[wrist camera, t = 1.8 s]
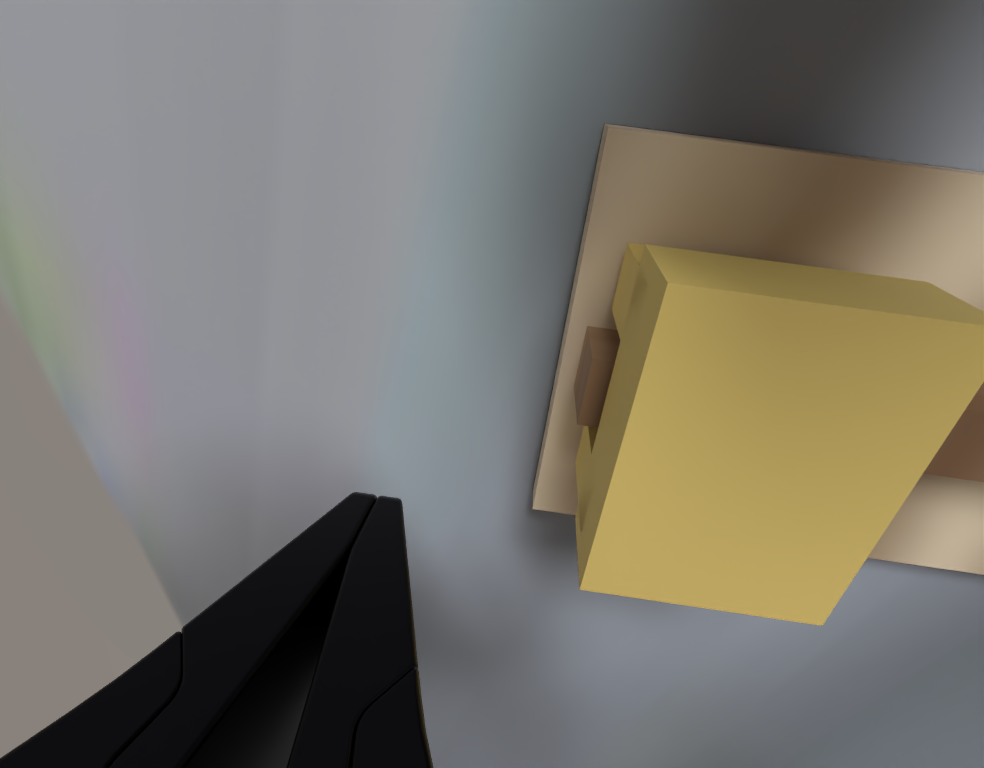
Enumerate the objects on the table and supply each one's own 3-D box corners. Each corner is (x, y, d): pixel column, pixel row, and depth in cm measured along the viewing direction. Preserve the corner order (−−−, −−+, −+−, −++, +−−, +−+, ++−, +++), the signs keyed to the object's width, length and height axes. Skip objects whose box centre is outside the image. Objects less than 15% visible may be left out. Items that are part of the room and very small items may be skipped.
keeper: (877, 255, 13) (1018, 330, 9) (759, 500, 17) (821, 625, 13) (632, 222, 13) (667, 282, 9) (572, 473, 17) (580, 589, 13)
